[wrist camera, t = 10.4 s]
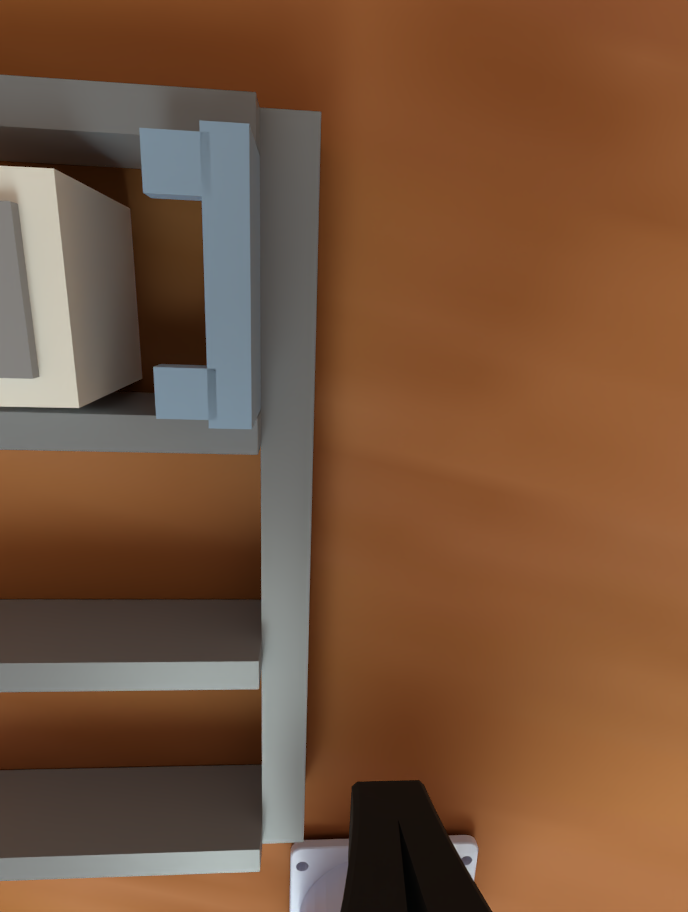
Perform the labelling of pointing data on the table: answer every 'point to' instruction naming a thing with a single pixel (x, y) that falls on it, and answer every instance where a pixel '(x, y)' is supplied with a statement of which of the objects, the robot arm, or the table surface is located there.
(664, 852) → the table surface
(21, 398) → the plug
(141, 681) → the e-shaped shelf rack
